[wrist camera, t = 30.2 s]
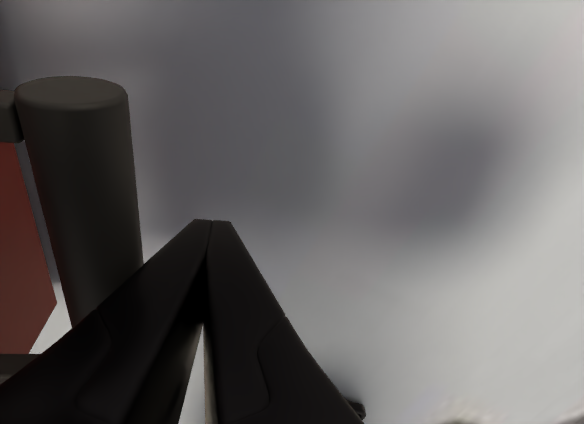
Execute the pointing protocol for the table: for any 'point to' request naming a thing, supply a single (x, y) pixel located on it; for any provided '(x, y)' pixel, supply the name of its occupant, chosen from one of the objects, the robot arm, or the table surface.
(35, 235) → the red-fronted drawer
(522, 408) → the table surface
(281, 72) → the table surface
